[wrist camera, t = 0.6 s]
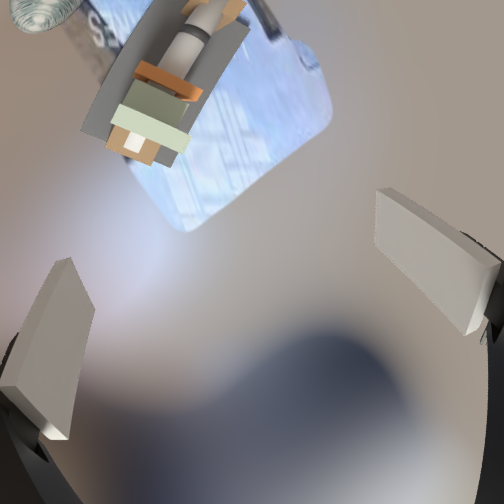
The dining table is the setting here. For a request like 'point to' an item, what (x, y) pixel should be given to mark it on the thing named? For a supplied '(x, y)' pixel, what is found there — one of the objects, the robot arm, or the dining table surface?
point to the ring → (167, 81)
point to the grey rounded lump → (41, 13)
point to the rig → (168, 67)
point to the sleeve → (153, 116)
